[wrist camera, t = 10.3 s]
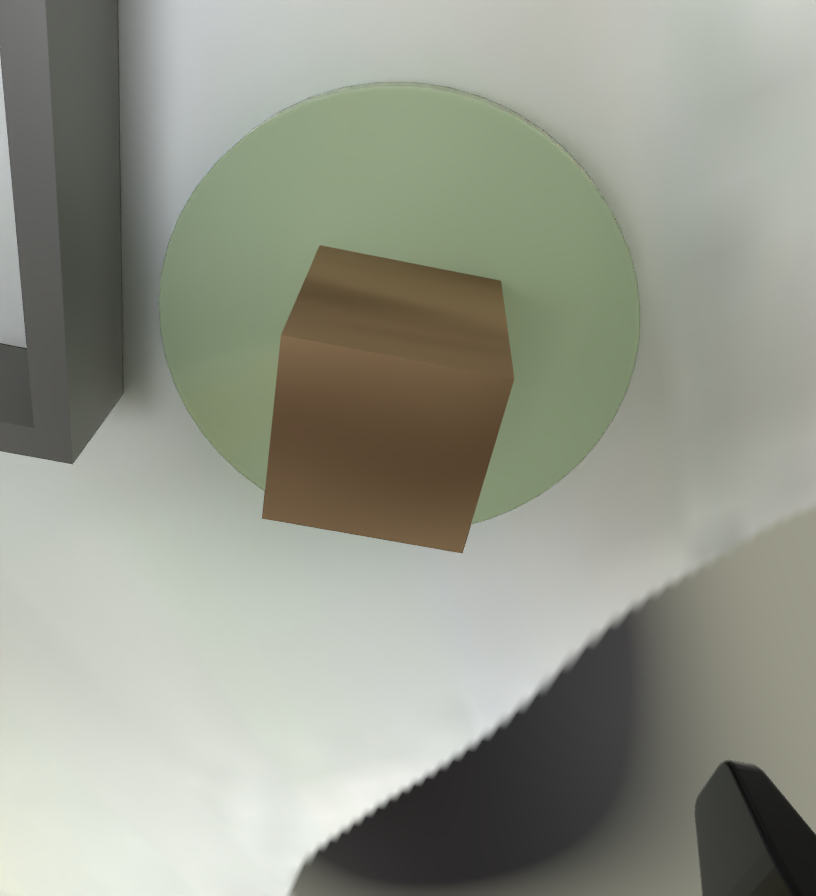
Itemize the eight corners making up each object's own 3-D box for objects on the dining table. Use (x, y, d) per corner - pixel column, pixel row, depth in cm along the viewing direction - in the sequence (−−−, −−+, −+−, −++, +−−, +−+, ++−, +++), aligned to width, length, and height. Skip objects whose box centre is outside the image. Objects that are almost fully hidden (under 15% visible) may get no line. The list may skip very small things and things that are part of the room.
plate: (552, 540, 22) (557, 564, 21) (167, 470, 21) (156, 492, 21) (707, 144, 16) (721, 155, 15) (178, 28, 15) (163, 33, 15)
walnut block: (460, 432, 19) (462, 553, 15) (300, 402, 19) (261, 518, 15) (501, 280, 17) (514, 379, 13) (319, 244, 17) (280, 334, 13)
